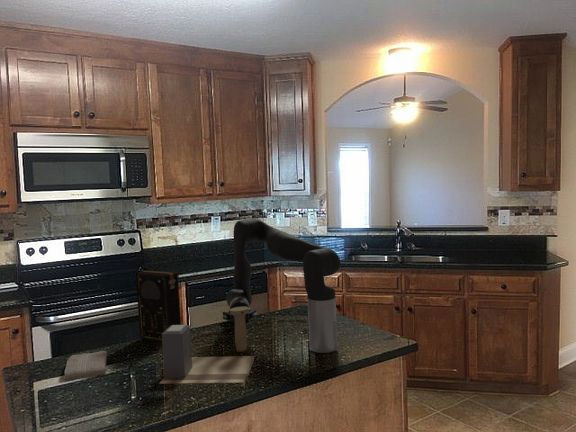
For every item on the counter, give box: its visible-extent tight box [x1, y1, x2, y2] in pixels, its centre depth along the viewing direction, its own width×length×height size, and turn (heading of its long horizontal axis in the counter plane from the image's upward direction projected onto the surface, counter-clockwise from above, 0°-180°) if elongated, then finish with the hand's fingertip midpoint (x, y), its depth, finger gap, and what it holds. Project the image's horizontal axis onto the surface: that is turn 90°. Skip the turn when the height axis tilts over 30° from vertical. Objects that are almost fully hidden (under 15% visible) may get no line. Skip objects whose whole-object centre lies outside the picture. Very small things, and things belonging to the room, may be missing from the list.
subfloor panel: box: [158, 355, 255, 387], centre depth 146 cm, size 24×20×1 cm
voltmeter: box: [135, 270, 182, 343], centre depth 180 cm, size 16×9×25 cm, turn 60°
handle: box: [229, 306, 250, 353], centre depth 161 cm, size 5×6×15 cm
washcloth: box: [64, 350, 108, 381], centre depth 155 cm, size 12×18×3 cm, turn 19°
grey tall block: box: [161, 324, 193, 378], centre depth 144 cm, size 6×8×14 cm
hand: (239, 321), depth 171 cm, fingers closed
